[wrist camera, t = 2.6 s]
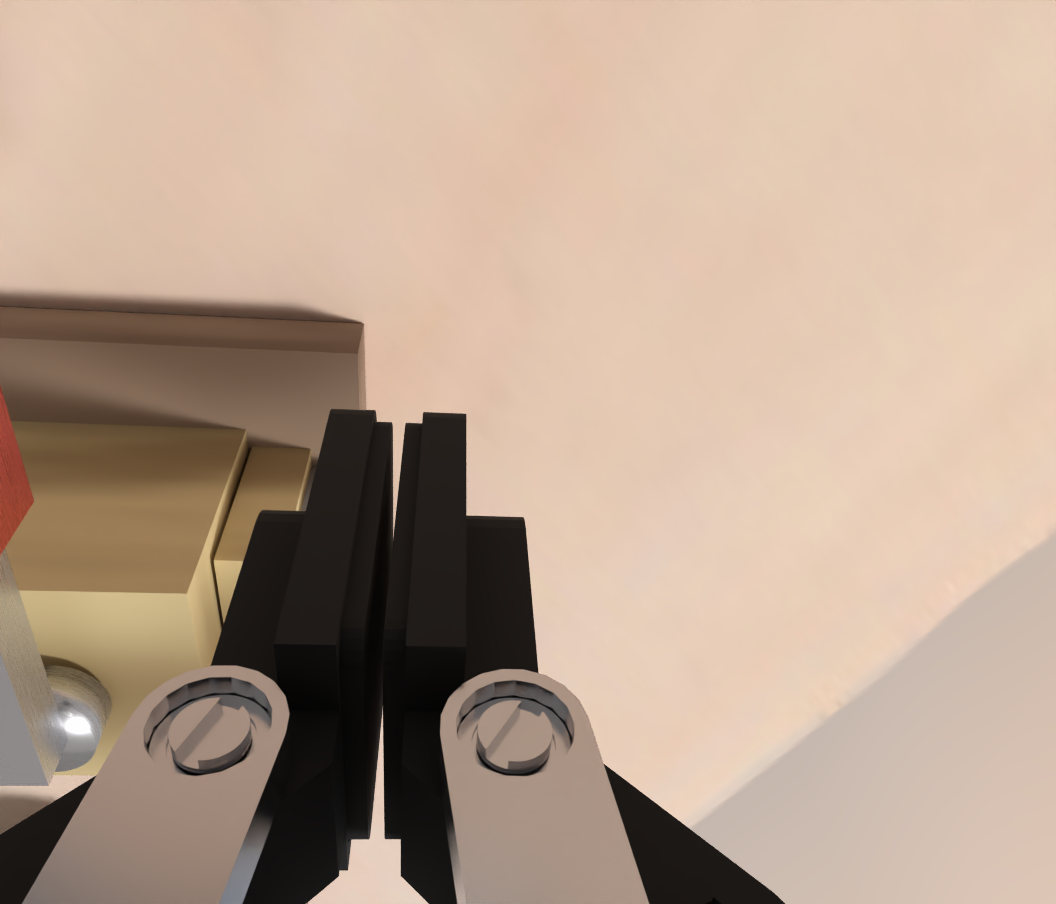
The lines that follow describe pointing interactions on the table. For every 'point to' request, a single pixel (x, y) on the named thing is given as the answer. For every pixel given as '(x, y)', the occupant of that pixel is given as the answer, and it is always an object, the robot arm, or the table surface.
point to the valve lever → (36, 663)
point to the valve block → (157, 476)
